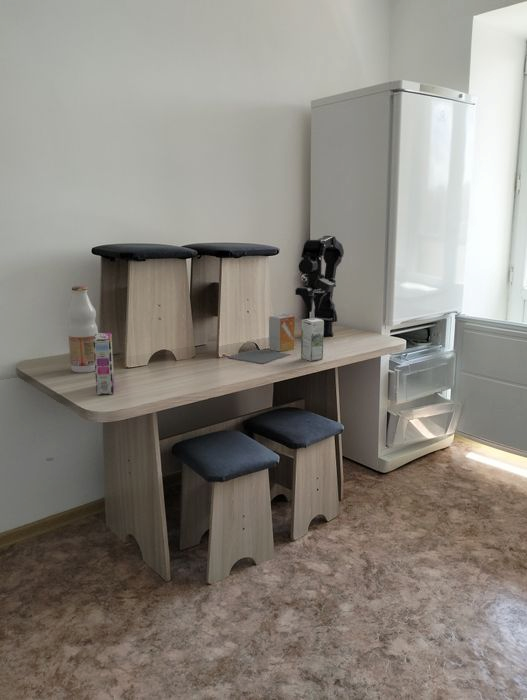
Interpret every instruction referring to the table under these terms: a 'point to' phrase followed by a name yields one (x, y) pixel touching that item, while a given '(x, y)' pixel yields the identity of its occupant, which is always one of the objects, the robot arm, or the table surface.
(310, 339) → the syrup box
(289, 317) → the small box
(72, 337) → the fruit juice
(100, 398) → the table surface
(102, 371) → the candy bar box
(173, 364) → the table surface
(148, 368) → the table surface
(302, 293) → the robot arm
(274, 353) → the felt mat
